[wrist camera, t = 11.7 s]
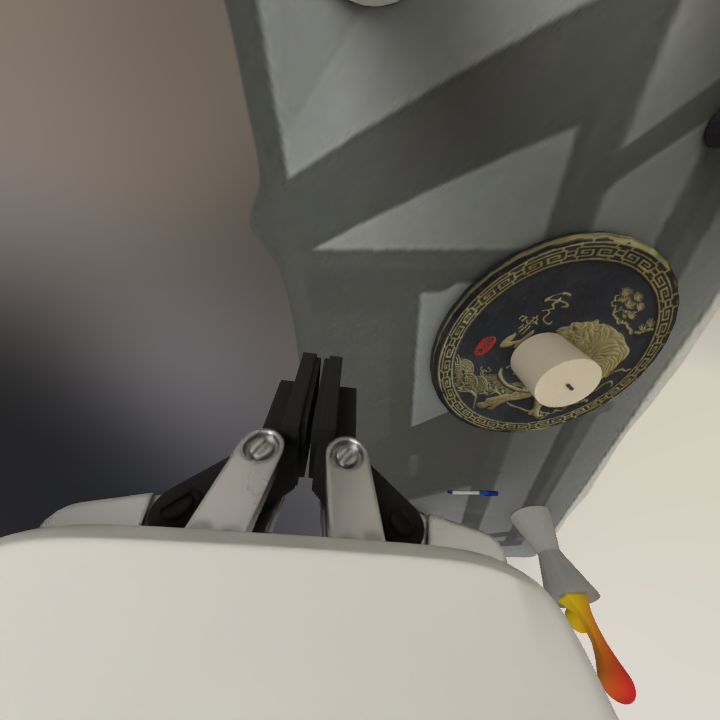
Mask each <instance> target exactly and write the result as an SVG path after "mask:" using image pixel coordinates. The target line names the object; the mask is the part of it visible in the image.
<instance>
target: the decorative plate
mask: <svg viewBox="0 0 720 720" xmlns="http://www.w3.org/2000/svg"><path fill="white" fill-rule="evenodd" d="M678 306H679V294H678V284H677V280H676V277H675V275H674V273H673V271H672V269H671V267H670V264H669V263H668V262H667V261H666V260H665V259H664V258H663V257H662V256H661V255H660V254H659V253H658V252H657V251H656V250H655V249H654V248H652V247H651V246H649V245H647V244H645V243H643V242H640V241H638V240H636V239H634V238H632V237H630V236H628V235H622V234H616V233H609V232H603V231H598V232H584V233H572V234H568V235H564V236H560V237H556V238H553V239H549V240H545V241H542V242H539V243H537V244H535V245H533V246H530V247H528V248H526V249H524V250H522V251H519V252H517V253H515V254H513V255H511V256H510V257H508V258H507V259H505V260H503V261H502V262H500V263H499V264H497V265H496V266H494V267H493V268H491V269H489V270H488V271H487V272H486V273H484V274H483V275H482V276H481V277H480V278H479V279H478V280H477V281H475V282H474V283H473V284H472V285H471V286H470V287H469V288H467V289H466V291H465V292H464V293H463V294H462V295H461V297H460V298H459V299H458V300H457V302H456V303H455V304H454V305H453V306H452V308H451V309H450V310H449V312H448V314H447V316H446V317H445V319H444V321H443V323H442V324H441V326H440V328H439V330H438V332H437V335H436V338H435V341H434V344H433V347H432V353H431V363H430V370H431V377H432V383H433V386H434V388H435V390H436V393H437V395H438V397H439V399H440V401H441V402H442V403H443V404H444V406H445V407H446V408H447V409H448V411H449V412H451V413H452V414H453V415H455V416H456V417H457V418H459V419H460V420H462V421H464V422H466V423H468V424H470V425H472V426H475V427H479V428H482V429H486V430H490V431H500V432H525V431H531V430H537V429H543V428H547V427H550V426H554V425H557V424H561V423H564V422H567V421H569V420H571V419H574V418H576V417H579V416H581V415H584V414H586V413H588V412H589V411H591V410H593V409H595V408H597V407H599V406H601V405H603V404H604V403H606V402H607V401H609V400H610V399H612V398H613V397H615V396H616V395H618V394H619V393H620V392H622V391H623V390H624V389H625V388H627V387H628V386H629V385H630V384H631V383H632V382H634V381H635V380H636V379H637V378H638V377H639V376H640V375H641V374H642V373H643V372H644V371H645V370H646V369H647V368H648V366H649V365H650V364H651V363H652V362H653V361H654V360H655V358H656V357H657V355H658V354H659V352H660V351H661V349H662V348H663V346H664V345H665V343H666V342H667V340H668V337H669V335H670V333H671V331H672V328H673V326H674V324H675V321H676V316H677V311H678ZM541 333H556V334H559V335H561V336H562V337H564V338H565V339H566V340H568V341H569V342H570V343H571V344H573V345H574V346H575V347H577V348H578V349H579V350H581V351H582V352H583V353H584V354H586V355H587V356H588V357H590V358H591V359H592V360H594V361H595V362H596V363H597V364H598V365H599V366H600V368H601V371H602V377H601V380H600V382H599V384H598V386H597V387H596V388H595V389H594V390H593V391H592V392H591V393H590V394H589V395H588V396H586V397H585V398H583V399H582V400H580V401H578V402H576V403H573V404H571V405H567V406H563V407H548V406H544V405H542V404H540V403H539V402H538V401H537V400H536V399H535V397H534V396H533V395H532V394H531V392H530V391H529V390H528V389H527V388H526V386H525V385H524V384H523V383H522V381H521V380H520V379H519V378H518V376H517V375H516V374H515V373H514V371H513V370H512V368H511V357H512V354H513V352H514V351H515V349H516V348H517V347H518V346H519V345H520V344H521V343H522V342H523V341H525V340H526V339H528V338H530V337H532V336H534V335H537V334H541Z"/></svg>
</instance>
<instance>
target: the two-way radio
mask: <svg viewBox="0 0 720 720" xmlns="http://www.w3.org/2000/svg"><path fill="white" fill-rule="evenodd" d="M706 142H707V144H708V146H710V147H720V111H719V112H718V113H717V114H716V115H715V116H714V118H713V119H712V121H711V122H710V125H709V127H708V129H707V131H706Z"/></svg>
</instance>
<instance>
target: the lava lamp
mask: <svg viewBox="0 0 720 720" xmlns="http://www.w3.org/2000/svg"><path fill="white" fill-rule="evenodd" d="M510 519H511V522H512V523H513V524H514V525H515V527H516V528H517V529H518V530H519V532H520V533H521V534H522V535H523V537H524V538H525V539H526V541H527V542H528V543H529V544H530V546H531V547H532V548H533V549H534V551H535V552H536V553H537V554H538V556H539V562H540V568H541V574H542V580H543V587H544V589H545V590H546V591H547V592H548V593H549V594H550V596H551V597H552V598H553V599H554V601H555V602H556V603H557V605H558V606H559V607H560V608H566V611H565V616H566V618H567V620H568V621H569V623H570V625H571V627H572V628H573V629H574V630H576V631H578V632H580V633H587V634H588V636H589V638H590V640H591V642H592V645H593V650H594V654H595V659H596V667H597V675H598V678H599V680H600V682H601V684H602V686H603V688H604V690H605V691H606V692H607V693H608V695H610V696H611V697H612V698H613V699H614V700H616V701H617V702H620V703H622V704H630V703H632V702H633V701H634V700H635V697H636V690H635V686H634V684H633V682H632V679H631V678H630V676H629V675H628V674H627V672H626V671H625V669H624V668H623V667H622V665H621V664H620V662H619V661H618V659H617V658H616V656H615V655H614V653H613V652H612V651H611V649H610V647H609V646H608V644H607V643H606V641H605V639H604V637H603V635H602V634H601V632H600V630H599V628H598V626H597V624H596V622H595V620H594V618H593V615H592V613H591V609H590V606H589V603H592V602H594V601H596V600H598V599H599V598H600V595H599V593H598V592H597V591H596V590H595V588H594V587H593V586H592V585H591V584H590V583H589V582H588V581H587V580H586V579H585V578H584V576H583V575H582V574H581V573H580V572H579V571H578V570H577V569H576V568H575V567H574V566H573V564H572V563H571V562H570V561H569V560H568V559H567V558H566V557H565V556H564V555H563V554H562V552H561V551H560V549H559V546H558V541H557V537H556V533H555V529H554V526H553V522H552V518H551V514H550V510H549V509H548V508H547V507H544V506H529V507H525V508H522V509H519V510H517V511H516V512H514V513H513V514H512V515H511V518H510Z"/></svg>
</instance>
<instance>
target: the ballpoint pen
mask: <svg viewBox="0 0 720 720" xmlns="http://www.w3.org/2000/svg"><path fill="white" fill-rule="evenodd" d="M448 493H450V494H479V495H484V496H497V495H498V492H497V491H448Z"/></svg>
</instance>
